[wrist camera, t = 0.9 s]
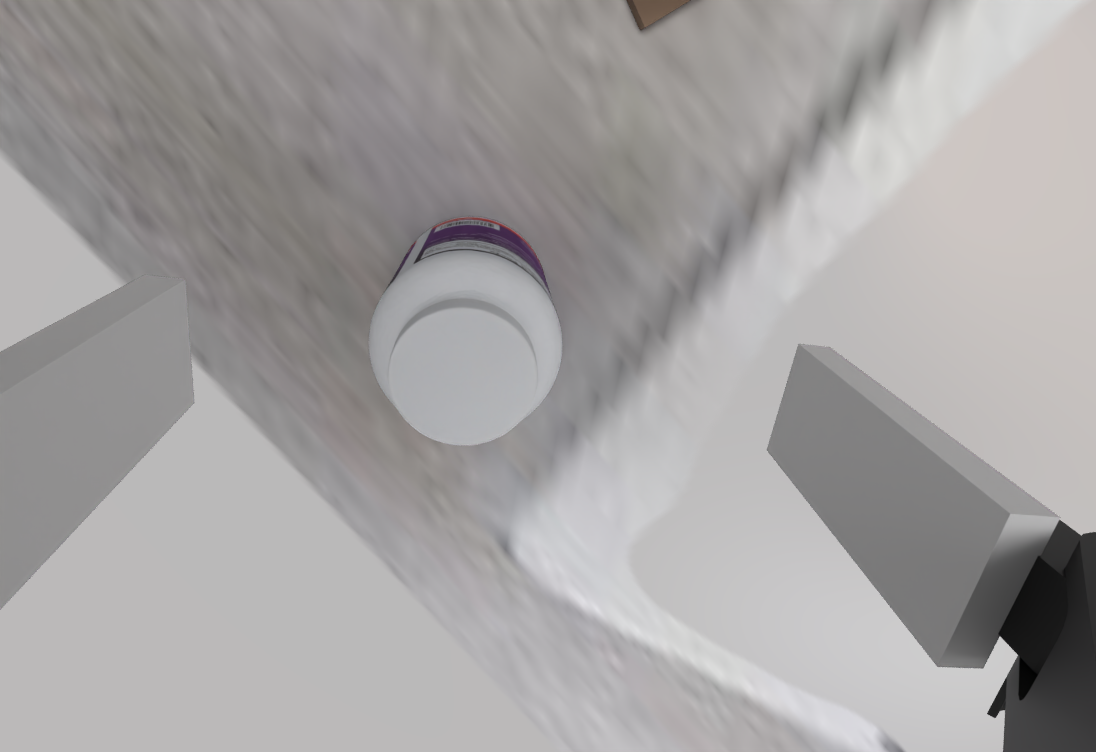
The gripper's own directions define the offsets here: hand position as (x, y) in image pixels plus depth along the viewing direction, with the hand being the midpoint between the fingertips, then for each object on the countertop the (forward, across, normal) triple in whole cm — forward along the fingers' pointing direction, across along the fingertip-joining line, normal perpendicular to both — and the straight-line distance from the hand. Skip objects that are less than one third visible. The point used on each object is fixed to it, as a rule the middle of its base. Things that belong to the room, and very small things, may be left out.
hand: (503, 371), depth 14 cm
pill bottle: (+24, -1, -5) cm, 24 cm away
